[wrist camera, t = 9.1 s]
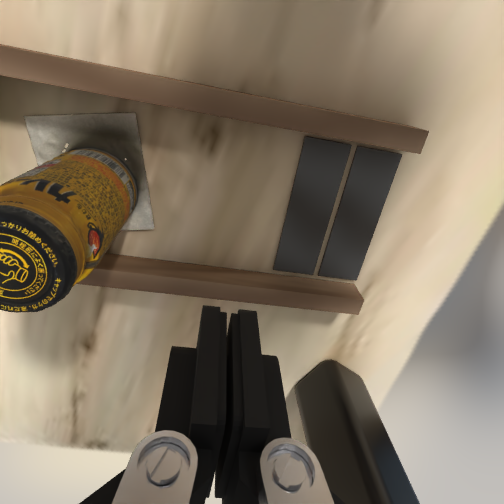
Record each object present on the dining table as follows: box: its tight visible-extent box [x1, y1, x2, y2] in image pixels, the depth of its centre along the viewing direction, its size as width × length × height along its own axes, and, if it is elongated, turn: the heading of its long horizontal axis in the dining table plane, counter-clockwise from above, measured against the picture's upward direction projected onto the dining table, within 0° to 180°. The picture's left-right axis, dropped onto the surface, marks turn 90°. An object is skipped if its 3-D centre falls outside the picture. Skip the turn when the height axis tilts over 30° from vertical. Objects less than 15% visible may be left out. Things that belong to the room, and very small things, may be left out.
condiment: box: [0, 113, 154, 312], centre depth 20 cm, size 7×8×12 cm
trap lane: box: [0, 44, 429, 315], centre depth 25 cm, size 15×30×3 cm, turn 80°
